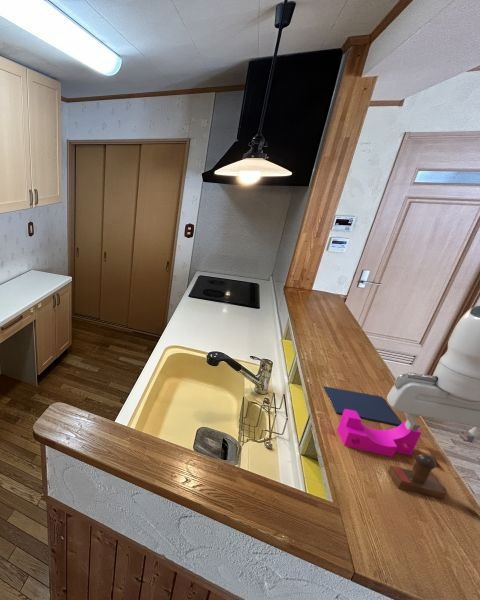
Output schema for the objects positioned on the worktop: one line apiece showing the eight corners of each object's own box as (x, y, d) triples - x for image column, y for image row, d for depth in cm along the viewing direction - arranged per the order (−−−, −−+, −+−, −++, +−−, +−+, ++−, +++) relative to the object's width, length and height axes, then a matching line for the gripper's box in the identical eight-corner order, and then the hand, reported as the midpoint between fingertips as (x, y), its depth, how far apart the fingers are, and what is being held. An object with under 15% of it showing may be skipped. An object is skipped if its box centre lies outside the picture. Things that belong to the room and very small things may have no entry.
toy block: (344, 445, 87) (352, 423, 85) (337, 429, 93) (344, 408, 90) (415, 462, 82) (426, 439, 79) (403, 444, 87) (413, 422, 85)
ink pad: (381, 398, 106) (381, 396, 106) (402, 426, 94) (403, 425, 93) (323, 387, 111) (323, 386, 111) (336, 413, 99) (337, 411, 99)
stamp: (430, 481, 77) (444, 452, 74) (443, 500, 72) (459, 470, 69) (387, 471, 80) (400, 443, 76) (397, 488, 75) (411, 459, 72)
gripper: (407, 378, 67) (385, 431, 71) (549, 402, 60) (513, 459, 64) (393, 363, 72) (373, 413, 77) (521, 383, 65) (489, 436, 70)
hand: (437, 434), depth 71 cm, fingers open, 8 cm apart
